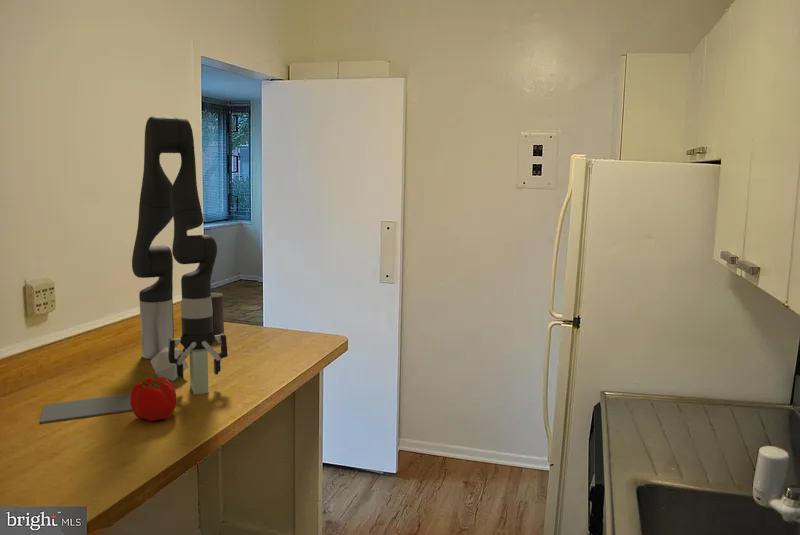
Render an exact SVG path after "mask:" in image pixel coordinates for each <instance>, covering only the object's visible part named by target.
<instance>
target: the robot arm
mask: <svg viewBox="0 0 800 535" xmlns="http://www.w3.org/2000/svg"><path fill="white" fill-rule="evenodd" d="M194 140H195V139H194V133H193V128H192V125H191V123H190V120H188V119H187V118H185V117H180V116H161V115H153V116H149V117H148V118H147V121H146V123H145V127H144V144H143V145H144V146H143V147H144V148H143V149H144V150H143V153H144V155H143V175H142V181H141V188H140V194H139V205H138V206H139V207H138V219H137V220H138V221H137V230H136V235H135V236H136V237H135V241H134V245H133V250H132V256H131V269H132V273H133V275H134V276H135V277H137V278H139V279H140V278H141V279H149V278H150V279H151V278H157V280H156V281H155V282H154V283H153V284H151V285H150V286H147V287H145V288H143V289H141V290H140V291H139V294H138V296H139V316H140V319H139V320H140V334H141V335H140V336H141V356H142V358H143V359H146V360H152V359H153V358H154V357H155V356H156V355H157V354H158V353H159V352H160V351H162V350H163V349H164V348H165V347H168V348H169V351H168V359H169V362H170V363H174V364H176V365H177V375H178V377H177V378H179V379H181V380H183V379H184V372H183V364H182V363H183V361H184V360H185V361H186V359H187V357H189V354H190V353H191V351H192V350H195V349H205V348H206V349H207V353H209V354H210V355H211V356H212V357H213V373H214V375H219V373H220V372H221V361H222V359H223V358H227V357H228V343H227V336H226V335H225V332H224V333H221V334H220V335H214V334H213V309H212V300H211V293H212V288H211V287H212V286H211V282H212V281H211V279H212V275H213V270H214V266H215V262H216V259H217V255H218V254H217V253H218V244H217V242H216V240H215V239H214V238H215V237H213V236H212V235H209V234H195V235H193V234H191V235H188V231H191V230H194V229H197V228H199V227H201V226H202V225H203V223H204V215H203V211H202V207H201V202H200V197H199V191H198V184H197V183H198V182H197V169H196V168H197V167H196V154H195V142H194ZM161 154H180V160H181V162H180V168H179V171H178V174H177V175H176V178H175V180H174V182H173V183H172V182H171V180H170V178H169V177H168V176H167V175H166V173H165V171H164V169H163V167H162V165H161V160H160V158H161ZM172 219H173V239H172V240H173V241H172V245H171V246H172V249H171V248H170V246H167V245H152V242H154V240H155V238H156V237H157V236H158V235H159V234H160V233H161V232H162V231H163V230H164V229H165V228H166V227H167V226H168V224H169V223H170V222H171V221H172ZM151 245H152V246H151ZM174 260H175V261H176V262H177V263H178V264H180V265H194V264H195V265H196V264H198V266H197V268H196V269H195V270H192V271H190V272H187V273H184V274H183V275H181V279H180V280H181V281H180V286H181V289H180V290H181V303H180V314H181V316H180V318H181V319H180V320H181V337H180V338H175V324H174V304H173V301H174V300H173V299H174V297H173V290H174V287H173V286H174V285H173V284H174V283H173V281H174V280H173V273H174V272H173V271H174V270H173V269H174ZM215 340H216V341H217V343H218V344H220V345H219V346H220V352H219V353H218V352H217V351H216V349H214V348H213V346H212V345H213V344H215V343H214V342H215ZM179 344H181V345H182V346H183V348H182V350H181V353H180V354H179V356H178V357H177V358H176V357H175V349H177V347H178V345H179Z"/></svg>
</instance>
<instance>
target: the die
mask: <svg viewBox="0 0 800 535" xmlns="http://www.w3.org/2000/svg"><path fill="white" fill-rule="evenodd" d="M168 351H169V348H168V347H165V348H164V349H163V350H162V351H160V352H159V353H158V354H157V355H156V356H155V357H154V358H153V359H150V364H151V366H152V368H153V370H154V373H155V375H156V377H157V379H159V378H165V379H168V381H169V380H170V381H171V382H174V381H175V380H176V379H178V378H179V377H178V375H177V365H176V364H174V363H170V362H169V359H168ZM181 351H182V350H181V349H179V348H175V357H176V358H177V357H178V356H179V354H180V353H181ZM182 364H183V373H184V372H185V371H186V370H187V369H188V368H189V365H188V363H187V361H186V359H185V360H184V361H183V363H182ZM170 381H169V382H170Z"/></svg>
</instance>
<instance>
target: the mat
mask: <svg viewBox="0 0 800 535" xmlns="http://www.w3.org/2000/svg"><path fill="white" fill-rule="evenodd" d="M130 396H131V393H127V394H117V395H112V396H110V395H109V396H103V397H102V396H101V397H93V398H86V399H79V400H71V401H70V400H69V401H62V402H56V403H55V402H54V403H45V404H43V407H42V411H41V416H40V420H39V423H40V424H46V423H51V422H52V423H53V422H60V421H67V420H76V419H82V418H90V417H96V416H104V415H111V414H119V413H126V412H133V411H132V409H131V405H130Z"/></svg>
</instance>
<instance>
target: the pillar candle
mask: <svg viewBox="0 0 800 535" xmlns="http://www.w3.org/2000/svg"><path fill="white" fill-rule="evenodd" d="M223 294H224V293H221V292H211V300H212V309H213V334H214V335H220V334H221V333H224V334H225V324H224V321H225V320H224V318H225V317H224V295H223Z"/></svg>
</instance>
